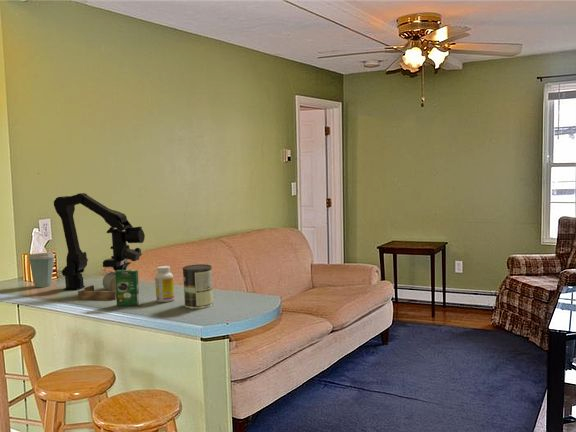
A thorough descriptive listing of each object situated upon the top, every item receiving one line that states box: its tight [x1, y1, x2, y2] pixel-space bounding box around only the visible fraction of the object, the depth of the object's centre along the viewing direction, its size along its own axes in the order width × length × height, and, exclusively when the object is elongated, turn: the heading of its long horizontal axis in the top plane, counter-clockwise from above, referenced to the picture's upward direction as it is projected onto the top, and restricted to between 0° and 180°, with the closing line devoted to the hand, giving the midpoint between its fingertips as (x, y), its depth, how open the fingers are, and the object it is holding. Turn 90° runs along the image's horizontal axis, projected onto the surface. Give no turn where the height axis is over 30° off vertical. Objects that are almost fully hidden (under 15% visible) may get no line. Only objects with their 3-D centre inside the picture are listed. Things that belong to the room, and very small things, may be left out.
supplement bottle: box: [154, 265, 175, 303], centre depth 218 cm, size 7×7×13 cm
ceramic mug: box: [102, 271, 116, 291], centre depth 239 cm, size 11×8×8 cm
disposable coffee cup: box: [28, 252, 56, 288], centre depth 256 cm, size 11×11×15 cm
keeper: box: [77, 284, 116, 301], centre depth 231 cm, size 18×11×3 cm, turn 76°
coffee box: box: [114, 269, 140, 307], centre depth 213 cm, size 8×3×13 cm, turn 87°
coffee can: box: [182, 263, 214, 310], centre depth 209 cm, size 10×10×14 cm
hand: (122, 280), depth 244 cm, fingers closed
